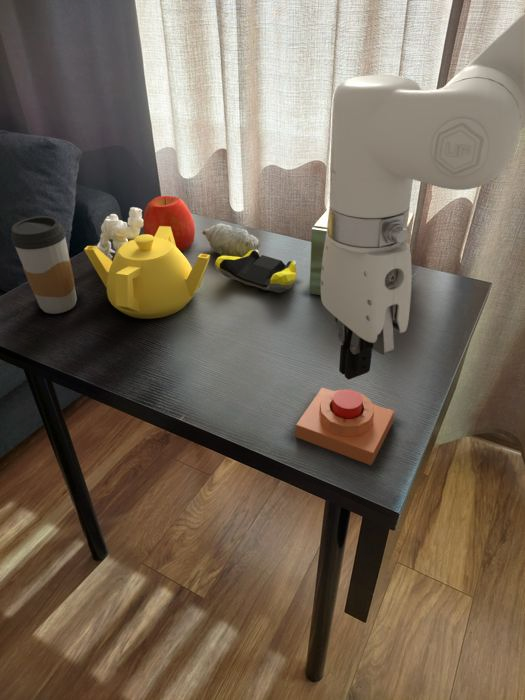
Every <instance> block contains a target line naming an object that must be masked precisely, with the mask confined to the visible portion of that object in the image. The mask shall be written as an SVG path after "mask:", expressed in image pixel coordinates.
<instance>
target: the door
mask: <svg viewBox="0 0 525 700" xmlns="http://www.w3.org/2000/svg"><path fill="white" fill-rule="evenodd" d="M326 234H327V229H322V228H315V227H314V226H313V227H312V228H311V237H310V238H311V241H310V244H311V245H310V267H309V268H310V270H309V273H310V274H309V294H312V295H316V296H321V269H322V259H323V251H324V245H325V239H326Z"/></svg>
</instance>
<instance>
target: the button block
mask: <svg viewBox="0 0 525 700" xmlns="http://www.w3.org/2000/svg"><path fill="white" fill-rule="evenodd" d="M339 390H340V389H336V390H331V389H329V388H325V387H321V388H320V389H319V391H318V392H317V394H316V395H315V397H314V398H313V400H312V401H311V403H310V404H309V405H308V407H307V408H306V410H305V411H304V412H303V414H302V416H301V417H300V418H299V420H298V421H297V423H296V425H295V438H297V439H300V440H303V441H306V442H307V443H310V444H313V445H316V446H319V447H321V448H324V449H326V450H329V451H332V452H335V453H336V454H340V455H343V456H345V457H347V458H350V459H352V460H355V461H358V462H361V463H363V464H366V465H369V466H372V465H373V463H374V461H375V459H376V457H377V455H378V454H379V451H380V449H381V448H382V445H383V444H384V441H385V439H386V437H387V435H388V433H389V431H390V429H391V427H392V425H393V422H394V417H395V410H392V409H390V408H387V407H383V406H381V405H377V404H375V403H373V402H372V400H370V399H369V398H368V397H367V396H366V395H365V394H363V393H361V392H358V393H359V394H360V395H361V396H362V399H363V403H362V411H361V414H360V415H359V416H358V417H356V418H354V419H343V418H340V417H338V416H336V415H335V414H334V412H333V411H332V402H333V396H334V394H335V393H336V392H337V391H339Z"/></svg>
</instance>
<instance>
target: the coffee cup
mask: <svg viewBox="0 0 525 700" xmlns="http://www.w3.org/2000/svg"><path fill="white" fill-rule="evenodd" d="M66 236H67V232H66V231H65V227H64V226H63V224H61V222H60V220H59V219H58V218H56V217H54V216H48V215H38V216H32V217H28V218H24V219H21V220H19V221H17V222H16V223H14V224H13V225H12V226H11V234H10V238H11V244H12V246H13V247H14V248H15V250H16V252H17V255H18V257H19V260H20V262H21V264H22V269H23V271H24V274H25V277H26V278H27V281H28V283H29V286H30V288H31V291H32V294H34V297H35V299H36V301H37V304H38V307H39V308H40V309H41V310H42V311H43V312H44V313H46V314H51V315H53V314H56V315H57V314H62V313H65V312H67V311H69V310H71V309H73V308H74V307H75V306H76V304H77V300H78V297H77V292H76V286H75V277H74V272H73V267H72V263H71V258H70V255H69V249H68V244H67V239H66Z"/></svg>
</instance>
